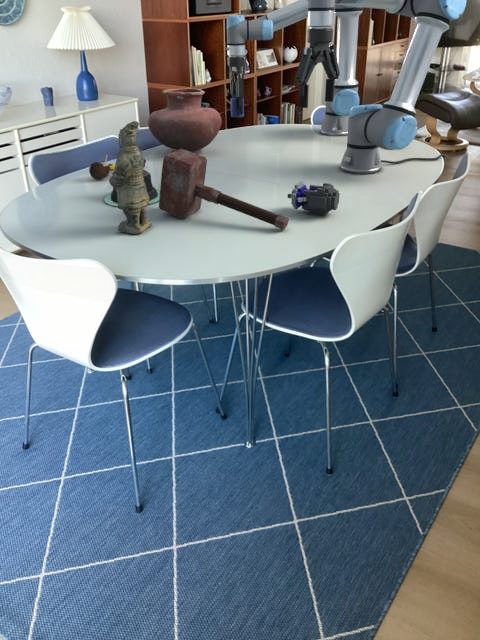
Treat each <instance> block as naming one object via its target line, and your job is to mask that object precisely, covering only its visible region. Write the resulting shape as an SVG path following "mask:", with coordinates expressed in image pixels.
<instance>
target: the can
mask: <svg viewBox="0 0 480 640" xmlns="http://www.w3.org/2000/svg"><path fill="white" fill-rule="evenodd" d="M235 98H236V97H235ZM235 98H232V97H231V98H230V117H231V118H243V117H245V97H244V98H243V114H238V115H237V113H236V99H235Z"/></svg>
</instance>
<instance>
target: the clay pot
mask: <svg viewBox="0 0 480 640" xmlns="http://www.w3.org/2000/svg"><path fill="white" fill-rule="evenodd" d="M205 92H206V91H204V90H202V89H199V88H193V87H191V88H189V87H187V88H172V89H163V90H162V92H161V93H162V94H163V95H165V97H166V99H167V105H166V107H165V108H163V109H159V110H155V111H153V112H151V113H150V114H149V116H148V117H147V119H148V120H147V127H148V129H149V131H150V133H151V135H152V136H153V137H154V138H155V139H156V140H157V142H159V143H160V144H161V145H163V146H165V147H166V148H169V149H171V150H174V151H177V150H179V149H184V150H187V151H190V152H192V153H194V152H197V151H201V150H202V149H204V148H206V147H207V146H209V145H210V144H211V143H212V142H213V141H214V139H215V138H216V137H217V136H218V133H219V131H220V129H221V127H222V122H223V120H222V116H221V114H220V113H219V112H218V111H217V110H216V109H215V108H212V107H202V99H203V96H204V94H205Z"/></svg>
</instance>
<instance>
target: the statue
mask: <svg viewBox="0 0 480 640" xmlns="http://www.w3.org/2000/svg"><path fill="white" fill-rule="evenodd" d="M139 126H140V122H139V121H136V120H134V121H131V122H129V123H127V124H126V125H125V126H123V127H122V128H121V129H119V133H118V139H117V141H118V146H119V152H118V154H117V156H116V160H115V163H114V164H115V170H114V171H113V172H114V175H113V176H112V175H111V176H110V177H109V180H108V183H109V184H110V186H111V187H112V188H113V187H114V188H115V189H116V192H117V202H118V206H117V209H119V210H122V213H123V214H124V215H125V218H126V219H125V220H122V221H120V222H119V224H118V225H117V231H118V232H121V233H126V234H134V235H136V234H142V233H143V232H145V231H146V230H147V229H148V228H150V227H151V226H152V225H153V223H152V220H150V219H148V216H147V214H148V213H147V212H148V211H147V209H148V206H149V205H150V197H149V195H148V192H147V188H146V184H145V182H144V178H143V169H144V167H145V166H144V159H145V157H144V153H143V151H142V150H141V149H139V147H138V145H137V144H138V142H137V141H138V140H137V139H138V137H137V132H138V131H139V128H140V127H139ZM143 166H144V167H143Z"/></svg>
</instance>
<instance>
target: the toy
mask: <svg viewBox="0 0 480 640" xmlns="http://www.w3.org/2000/svg"><path fill="white" fill-rule="evenodd" d="M293 187H294V188H293V189H292V191H291V193H288V194H287V199H291V200H290V201H291V202H290V203H291V206H292V207H293V210H298V209H299V208H301V210H303V211H306V212H307V214H310V215H311V214H312V215H318V216H326V215H328V213H330V212H331V211H336V210H337V209H338V205H339V204H340V194H341V193H340V190H338V189H337V188H335V187H334V184H332V183H328V182H324V183H322V185H315V184H310V185H309V186H308V187H309V188H308V187H307V185H306V184H305V183H304V181H301V180H299V181H298V182H296V183H295V184H294V186H293Z"/></svg>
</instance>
